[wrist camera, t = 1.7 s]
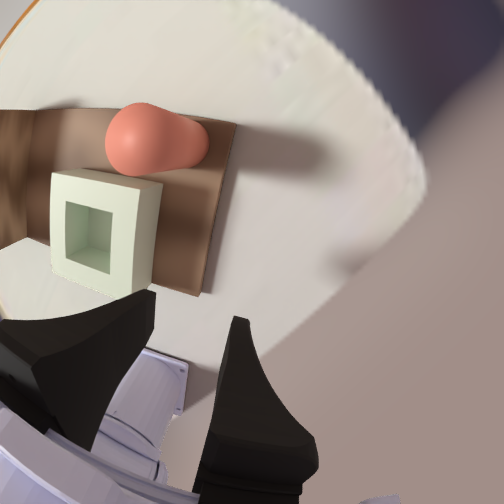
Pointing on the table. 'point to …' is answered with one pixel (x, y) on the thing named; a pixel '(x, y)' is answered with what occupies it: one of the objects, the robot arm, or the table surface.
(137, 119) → the dowel
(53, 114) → the board
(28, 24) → the table surface
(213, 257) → the table surface
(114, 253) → the block
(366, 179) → the table surface
